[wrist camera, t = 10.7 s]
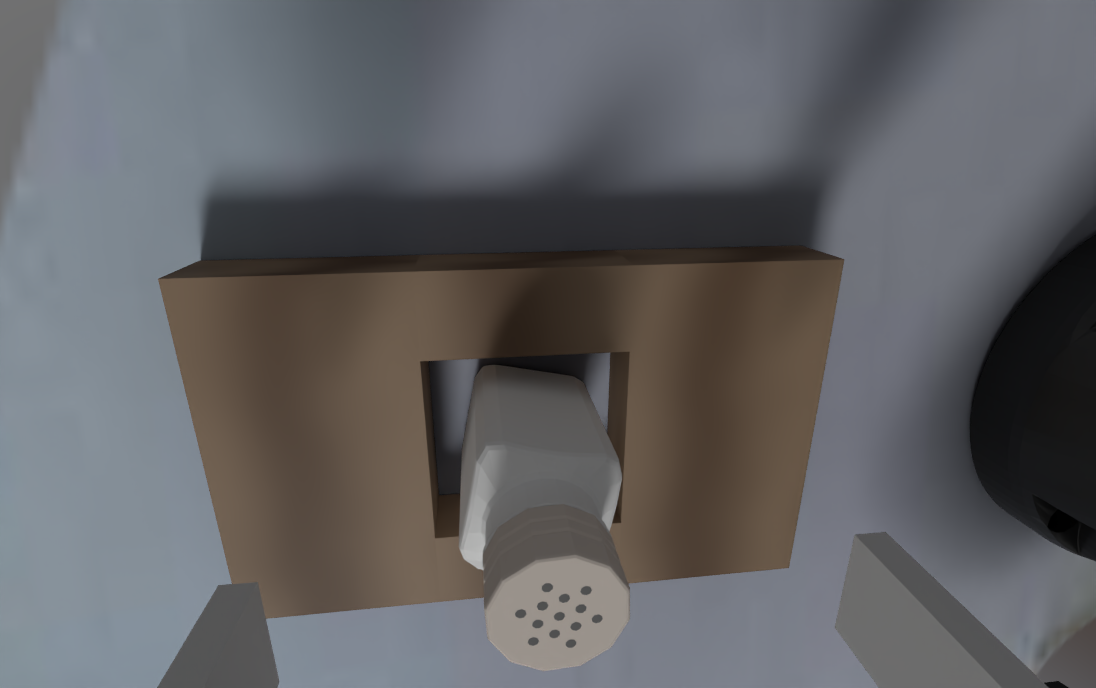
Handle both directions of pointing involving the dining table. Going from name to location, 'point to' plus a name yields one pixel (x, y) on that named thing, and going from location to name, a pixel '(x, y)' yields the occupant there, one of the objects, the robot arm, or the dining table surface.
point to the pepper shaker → (542, 517)
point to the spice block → (494, 332)
